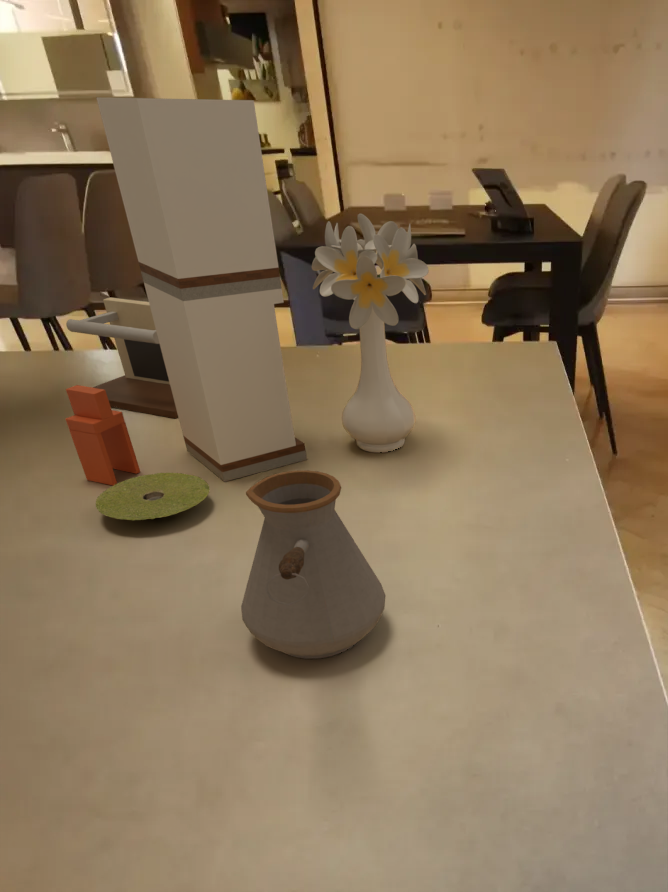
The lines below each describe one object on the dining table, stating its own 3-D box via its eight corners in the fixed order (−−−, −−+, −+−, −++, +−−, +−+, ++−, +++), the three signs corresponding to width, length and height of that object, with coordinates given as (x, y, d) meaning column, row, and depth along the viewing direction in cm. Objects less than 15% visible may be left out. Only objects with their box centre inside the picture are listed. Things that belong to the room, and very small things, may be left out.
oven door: (175, 418, 97) (151, 325, 89) (76, 400, 102) (45, 311, 94) (226, 394, 105) (208, 308, 97) (132, 379, 110) (107, 296, 102)
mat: (220, 485, 80) (216, 469, 79) (204, 532, 71) (200, 515, 70) (116, 491, 79) (111, 474, 77) (87, 539, 70) (81, 522, 69)
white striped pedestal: (307, 459, 86) (253, 100, 65) (224, 481, 81) (136, 97, 59) (265, 432, 93) (205, 99, 72) (187, 451, 88) (96, 97, 66)
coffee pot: (252, 598, 62) (215, 434, 53) (382, 587, 64) (368, 425, 54) (230, 779, 45) (170, 585, 36) (406, 756, 47) (392, 566, 38)
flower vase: (347, 481, 82) (319, 235, 66) (323, 425, 95) (296, 211, 80) (453, 467, 85) (450, 231, 70) (416, 416, 99) (407, 209, 83)
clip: (113, 486, 80) (84, 397, 73) (86, 480, 81) (55, 392, 75) (140, 472, 83) (114, 386, 77) (114, 466, 84) (86, 381, 78)
